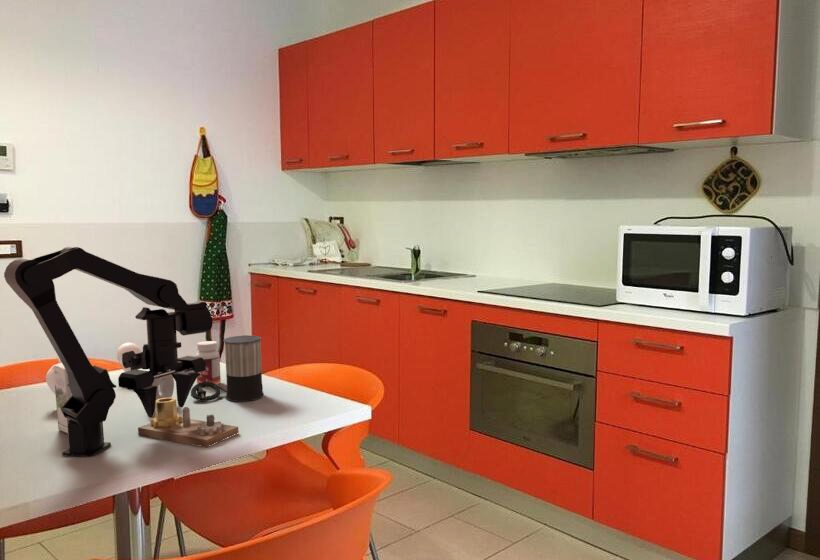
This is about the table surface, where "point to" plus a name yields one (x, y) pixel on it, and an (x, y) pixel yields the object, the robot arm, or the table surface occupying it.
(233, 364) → the milk frother
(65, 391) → the syrup box
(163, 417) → the brass gear
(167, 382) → the donut
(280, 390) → the table surface
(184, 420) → the board
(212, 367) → the pill bottle
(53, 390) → the spinning top
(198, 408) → the table surface
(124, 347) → the lightbulb
